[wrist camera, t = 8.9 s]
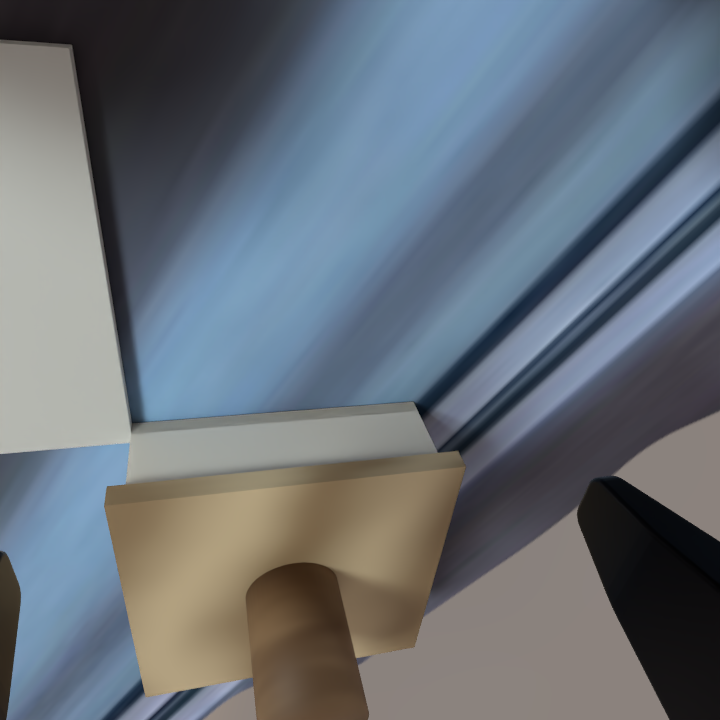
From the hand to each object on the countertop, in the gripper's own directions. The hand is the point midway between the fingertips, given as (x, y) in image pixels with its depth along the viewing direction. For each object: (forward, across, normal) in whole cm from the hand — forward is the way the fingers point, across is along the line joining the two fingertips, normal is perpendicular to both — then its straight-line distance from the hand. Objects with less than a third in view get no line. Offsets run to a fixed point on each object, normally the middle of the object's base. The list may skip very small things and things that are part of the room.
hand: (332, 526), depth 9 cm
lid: (+8, -1, +14) cm, 16 cm away
